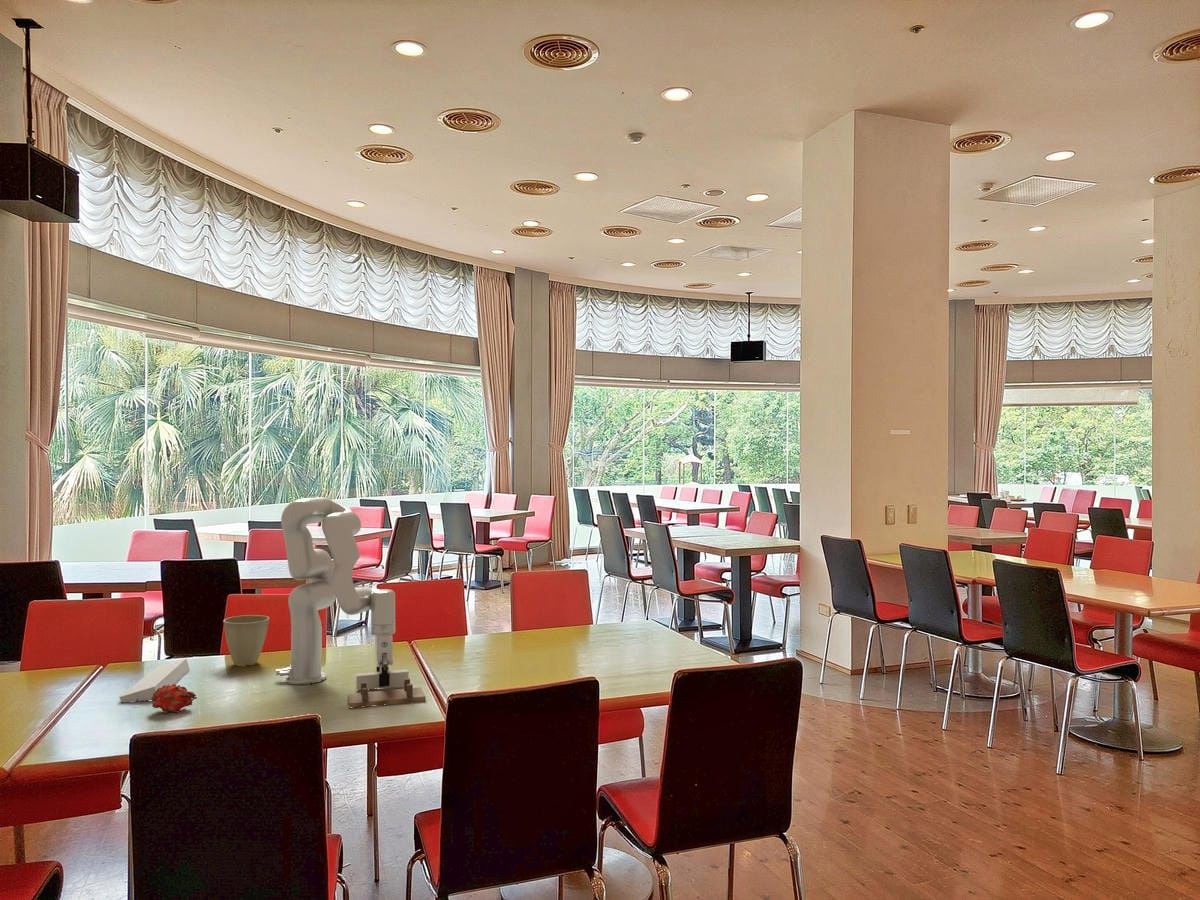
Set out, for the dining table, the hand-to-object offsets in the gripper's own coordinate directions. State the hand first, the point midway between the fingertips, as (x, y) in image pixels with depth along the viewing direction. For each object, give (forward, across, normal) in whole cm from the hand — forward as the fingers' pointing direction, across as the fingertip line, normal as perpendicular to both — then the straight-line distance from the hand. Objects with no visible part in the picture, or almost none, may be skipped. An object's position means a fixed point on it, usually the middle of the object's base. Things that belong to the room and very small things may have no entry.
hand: (382, 682), depth 257 cm
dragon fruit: (+2, -5, +59) cm, 59 cm away
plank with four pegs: (+2, -14, 0) cm, 14 cm away
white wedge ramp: (+2, +25, +68) cm, 73 cm away
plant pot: (+1, +45, +43) cm, 62 cm away
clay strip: (+2, 0, 0) cm, 2 cm away
